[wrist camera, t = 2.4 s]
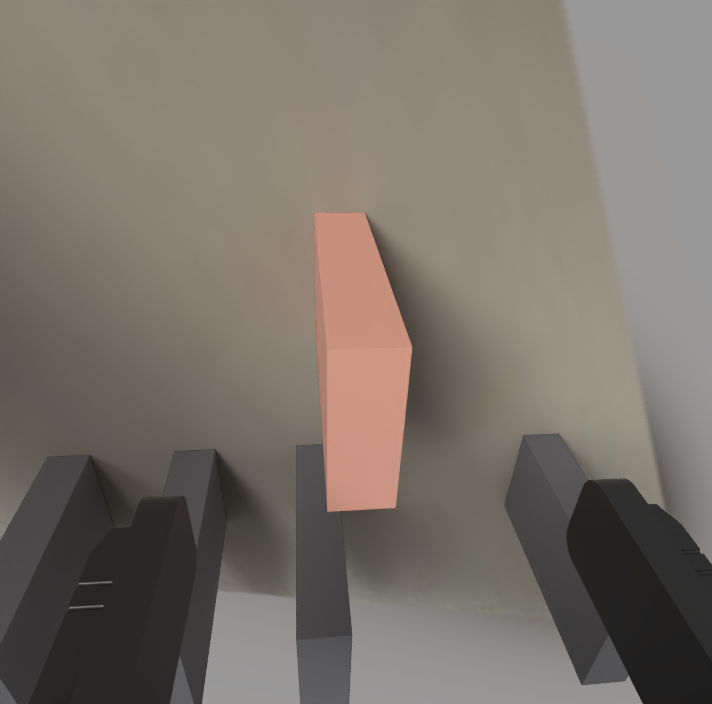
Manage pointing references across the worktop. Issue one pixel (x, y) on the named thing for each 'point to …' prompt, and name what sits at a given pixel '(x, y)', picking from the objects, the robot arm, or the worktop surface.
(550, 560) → the domino
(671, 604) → the robot arm
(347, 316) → the domino
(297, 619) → the domino
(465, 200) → the worktop surface
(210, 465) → the domino
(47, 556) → the domino
